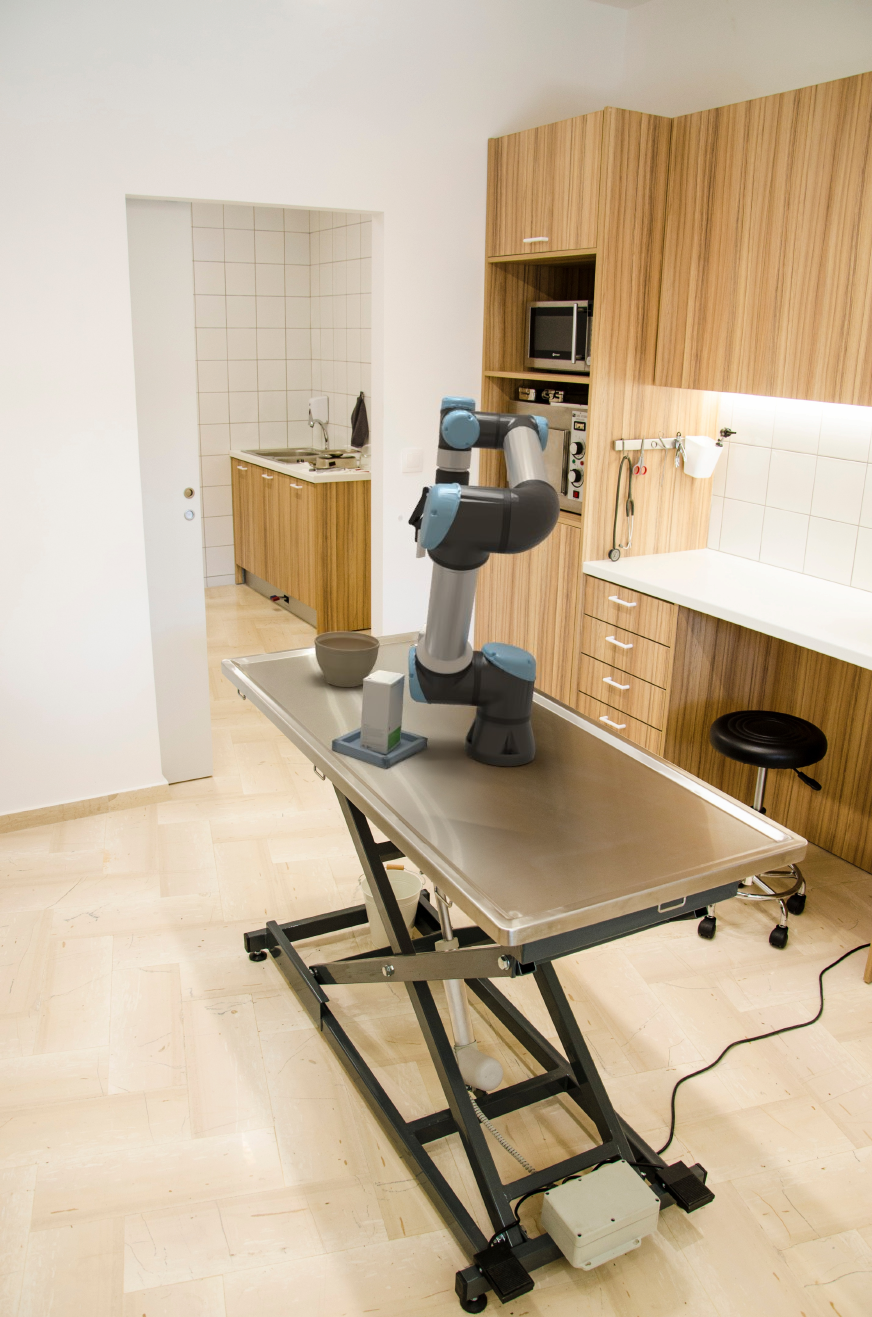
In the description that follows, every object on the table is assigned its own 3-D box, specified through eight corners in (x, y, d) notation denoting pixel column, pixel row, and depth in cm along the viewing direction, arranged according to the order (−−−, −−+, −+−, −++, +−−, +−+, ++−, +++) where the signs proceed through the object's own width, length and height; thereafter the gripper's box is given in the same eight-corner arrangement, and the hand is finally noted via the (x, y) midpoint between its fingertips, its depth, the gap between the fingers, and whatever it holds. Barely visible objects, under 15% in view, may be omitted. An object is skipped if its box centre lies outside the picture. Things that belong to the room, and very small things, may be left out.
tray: (427, 747, 211) (427, 738, 211) (386, 769, 199) (386, 759, 198) (374, 729, 218) (374, 720, 217) (331, 749, 206) (332, 740, 205)
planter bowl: (385, 676, 252) (388, 636, 249) (365, 696, 237) (368, 653, 234) (326, 667, 256) (328, 627, 252) (302, 686, 241) (304, 644, 237)
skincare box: (386, 756, 204) (390, 685, 199) (357, 749, 206) (361, 678, 201) (401, 742, 211) (406, 673, 206) (373, 735, 213) (377, 667, 208)
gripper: (510, 475, 215) (500, 570, 222) (416, 460, 228) (409, 550, 234) (493, 477, 209) (484, 575, 216) (397, 462, 222) (391, 554, 228)
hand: (445, 562), depth 225 cm, fingers open, 13 cm apart
